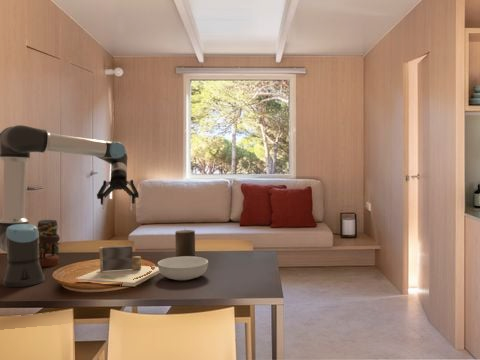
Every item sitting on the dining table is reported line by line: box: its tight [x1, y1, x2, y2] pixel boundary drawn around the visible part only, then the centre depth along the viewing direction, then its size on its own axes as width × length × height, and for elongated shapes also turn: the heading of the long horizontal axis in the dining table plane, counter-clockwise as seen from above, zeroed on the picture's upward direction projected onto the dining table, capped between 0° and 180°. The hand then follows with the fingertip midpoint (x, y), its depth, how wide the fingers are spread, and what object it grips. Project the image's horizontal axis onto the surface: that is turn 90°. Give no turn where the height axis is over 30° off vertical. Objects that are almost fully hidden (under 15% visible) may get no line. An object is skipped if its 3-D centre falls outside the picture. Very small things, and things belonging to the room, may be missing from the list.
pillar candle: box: [175, 229, 196, 257], centre depth 226 cm, size 10×10×15 cm
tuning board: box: [75, 265, 161, 287], centre depth 193 cm, size 26×27×2 cm
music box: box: [37, 223, 61, 268], centre depth 219 cm, size 15×11×20 cm
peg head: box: [98, 245, 142, 272], centre depth 197 cm, size 17×4×10 cm, turn 101°
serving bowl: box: [157, 256, 209, 281], centre depth 189 cm, size 21×21×7 cm
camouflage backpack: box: [37, 219, 59, 255], centre depth 243 cm, size 10×8×19 cm
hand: (117, 208), depth 206 cm, fingers open, 11 cm apart
